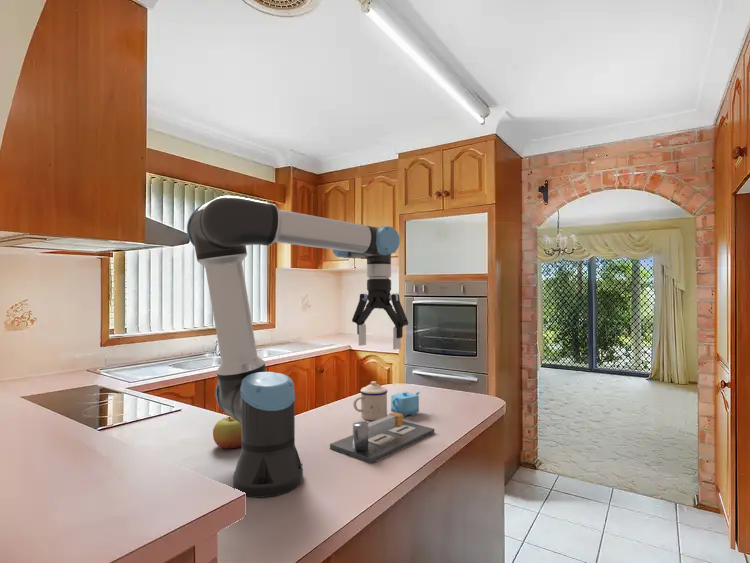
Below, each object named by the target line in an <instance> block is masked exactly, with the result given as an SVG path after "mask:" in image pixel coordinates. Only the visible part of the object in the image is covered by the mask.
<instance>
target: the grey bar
mask: <svg viewBox="0 0 750 563" xmlns="http://www.w3.org/2000/svg"><path fill="white" fill-rule="evenodd" d="M403 421H404V417H403V414H400V413H396V412H392V413H388V415H387V416H386V417H384V418H381V419H378V420H372V421H371V422H365V421H356V422H354V423H352V435H353V448H354V449H355V450H366V449H368V438H371V437H373V436H375V435H378V434H380V433H383V432H385V431H387V430H390V429H392V428H395V427H401V426H403Z"/></svg>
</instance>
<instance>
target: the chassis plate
mask: <svg viewBox="0 0 750 563" xmlns="http://www.w3.org/2000/svg"><path fill="white" fill-rule="evenodd" d="M433 434H435V428H432V427H429V426H426V425H425V426H424V425H421V424H416V423H413V422H408V421H405V420H403V426H401V427H395V428H392V429H390V430H387V431H385V432H383V433H380V434H378V435H375V436H373V437H371V438H368V449H366V450H355V449H354V448H353V434H352V435H349V436H347V437H345V438H341V439H339V440H337V441H334V442H331V443H330V444H329V449H331V450H333V451H336V452H337V453H338V452H340V453H342V454H344V455H347V456H350V457H352V458H353V457H354V458H356V459H358V460H362V461H365V462H367V463H369V464H374V463H376V462H378V461H380V460H382V459H384V458H386V457H388V456H390V455H392V454H394V453H396V452H398V451H401V450H402V449H404V448H406V447H408V446H410V445H413V444H414V443H416V442H419V441H420V440H422V439H425V438H427V437H429V436H430V435H433Z"/></svg>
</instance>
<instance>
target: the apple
mask: <svg viewBox="0 0 750 563" xmlns="http://www.w3.org/2000/svg"><path fill="white" fill-rule="evenodd" d="M212 435H213V436H212V438H213V441H214V443H215V444H216V445H217V447H220V448H221V449H226V450H229V449H236V448H238V447H242V446H241V423H240V422H238V421H237V420H235V419H234V418H232V417H231V416H229V415H228V416H226V417H222V419H219V420H218V421H217V422H216V423H215V425H214V427H213V429H212Z"/></svg>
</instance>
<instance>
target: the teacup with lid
mask: <svg viewBox="0 0 750 563" xmlns="http://www.w3.org/2000/svg"><path fill="white" fill-rule="evenodd" d="M377 383H378V382H377V381H370V383H369V384H367V385H366V386H363V387H362V388H361V389H360V390H359V392H360V396H357V397H355V398H354V399H353V402H352V405H353V409H354V410H355V411H356V412H358V413H360V416H361V418H362V419H363V420H367V421H376V420H378V419H381V418H384V417H386V416H388V395H387V394H388V389H387V388H386V387H385V386H381V385H380V384H377ZM359 400H360V409H359V408H358V406H357V402H358V401H359Z"/></svg>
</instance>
